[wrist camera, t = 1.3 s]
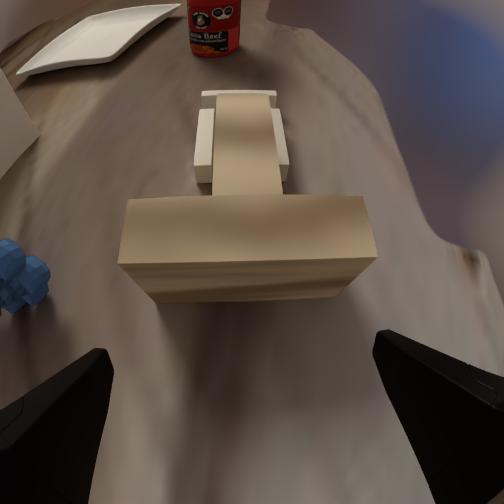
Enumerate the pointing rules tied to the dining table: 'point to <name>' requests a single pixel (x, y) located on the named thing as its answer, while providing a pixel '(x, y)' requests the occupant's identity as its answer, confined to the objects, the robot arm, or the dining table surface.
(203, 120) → the slot guide
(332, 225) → the t block
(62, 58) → the square plate
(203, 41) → the canned food
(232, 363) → the dining table surface
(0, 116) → the milk
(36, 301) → the grapes
